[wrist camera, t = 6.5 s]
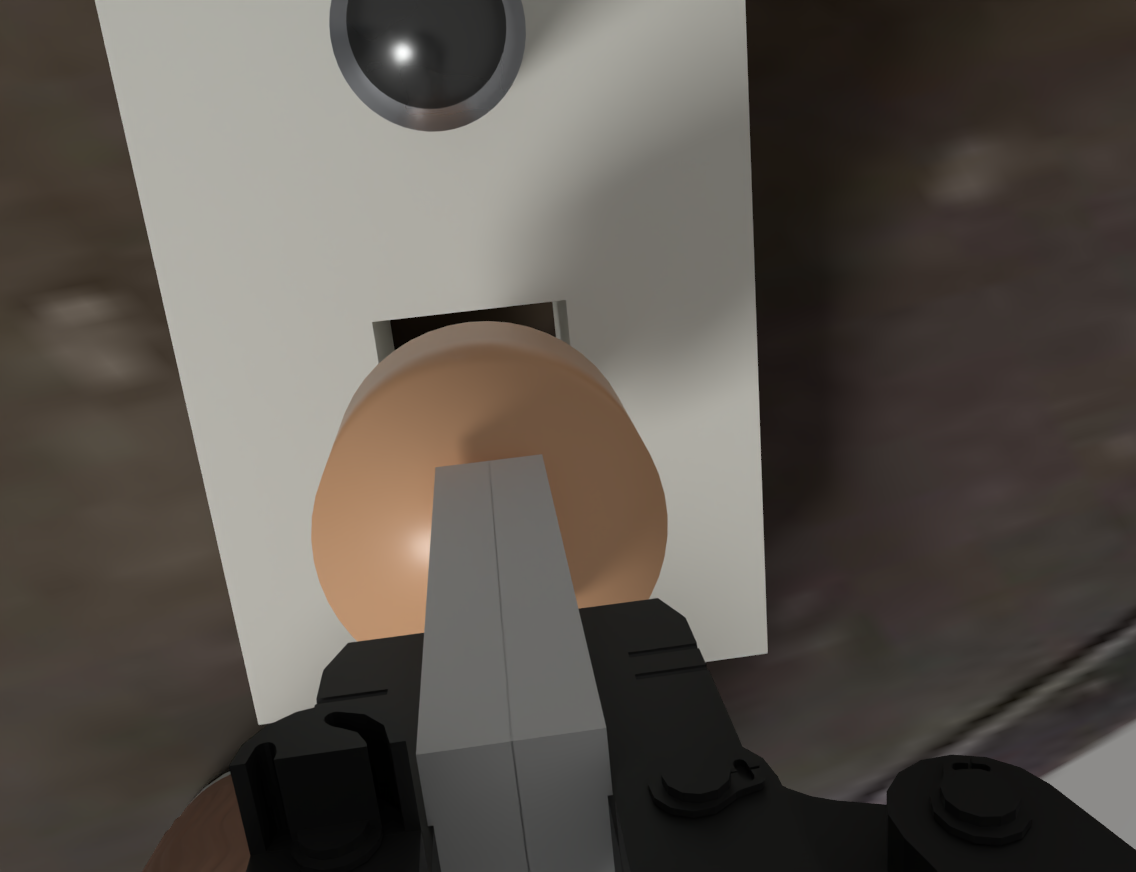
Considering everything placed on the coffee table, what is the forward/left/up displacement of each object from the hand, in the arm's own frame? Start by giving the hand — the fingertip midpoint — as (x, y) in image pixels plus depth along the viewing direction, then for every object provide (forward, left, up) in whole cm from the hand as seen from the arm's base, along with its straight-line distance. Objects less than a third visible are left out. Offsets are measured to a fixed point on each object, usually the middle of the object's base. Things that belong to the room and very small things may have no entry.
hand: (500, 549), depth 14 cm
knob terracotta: (0, 0, -7) cm, 7 cm away
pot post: (0, +7, -7) cm, 10 cm away
